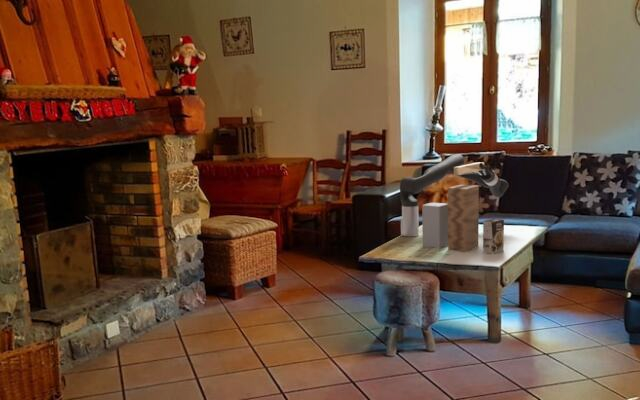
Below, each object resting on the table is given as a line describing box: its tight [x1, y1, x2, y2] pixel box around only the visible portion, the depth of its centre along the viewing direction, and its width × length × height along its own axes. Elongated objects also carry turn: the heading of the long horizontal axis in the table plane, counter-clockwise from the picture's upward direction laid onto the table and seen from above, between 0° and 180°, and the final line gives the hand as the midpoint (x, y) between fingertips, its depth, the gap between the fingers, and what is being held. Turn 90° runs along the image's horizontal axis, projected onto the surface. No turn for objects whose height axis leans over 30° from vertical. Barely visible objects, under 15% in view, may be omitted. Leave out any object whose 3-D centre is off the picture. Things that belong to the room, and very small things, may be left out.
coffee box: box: [482, 218, 505, 255], centre depth 306 cm, size 9×6×16 cm
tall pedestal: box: [447, 184, 480, 253], centre depth 314 cm, size 10×14×32 cm
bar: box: [453, 161, 485, 176], centre depth 325 cm, size 3×28×4 cm, turn 139°
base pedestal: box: [421, 202, 448, 249], centre depth 323 cm, size 10×10×22 cm
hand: (476, 164), depth 331 cm, fingers closed on bar, 3 cm apart
